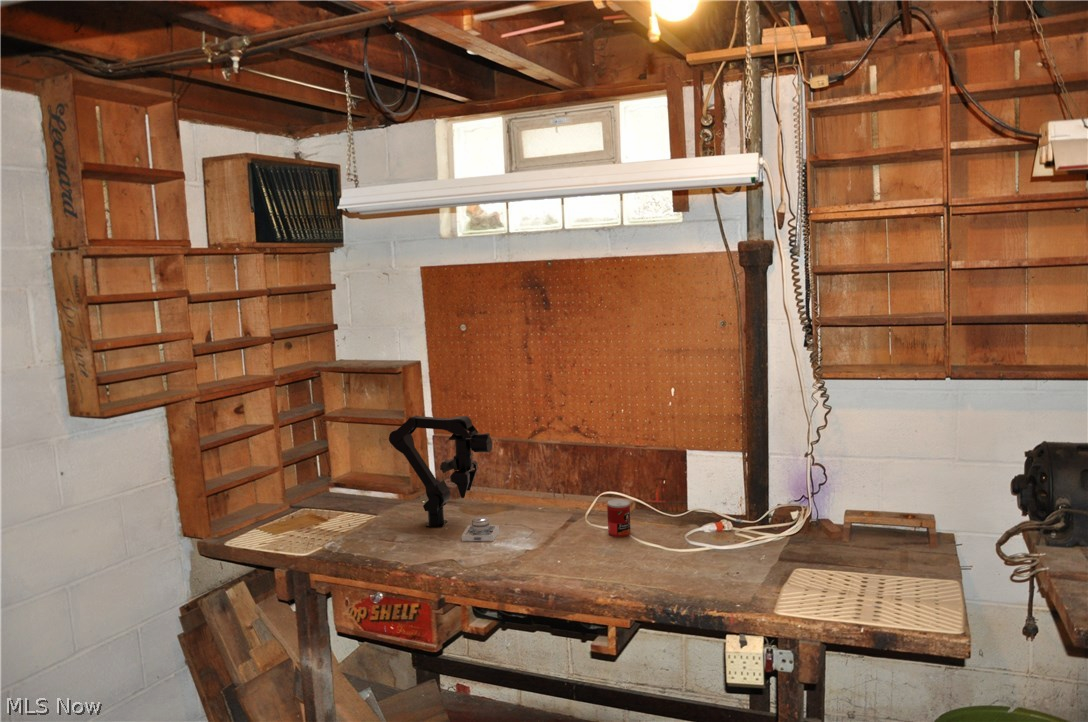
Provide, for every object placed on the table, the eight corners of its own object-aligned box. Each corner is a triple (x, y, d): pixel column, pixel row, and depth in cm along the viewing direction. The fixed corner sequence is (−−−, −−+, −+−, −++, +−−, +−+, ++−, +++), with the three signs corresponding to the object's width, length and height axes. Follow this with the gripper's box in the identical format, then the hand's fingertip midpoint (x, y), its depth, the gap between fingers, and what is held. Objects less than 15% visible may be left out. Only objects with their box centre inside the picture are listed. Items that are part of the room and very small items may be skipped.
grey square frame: (468, 530, 284) (468, 525, 283) (499, 530, 282) (498, 525, 282) (461, 541, 272) (461, 536, 272) (493, 542, 271) (492, 536, 271)
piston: (474, 532, 281) (473, 516, 281) (491, 532, 281) (490, 516, 280) (470, 538, 275) (469, 521, 275) (488, 538, 275) (487, 521, 274)
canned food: (620, 539, 269) (619, 507, 268) (603, 533, 275) (602, 502, 274) (635, 533, 274) (634, 502, 273) (618, 528, 280) (617, 497, 279)
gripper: (447, 446, 295) (449, 487, 297) (434, 458, 277) (437, 502, 279) (477, 445, 294) (479, 486, 296) (466, 458, 275) (468, 501, 277)
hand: (465, 494), depth 287 cm, fingers open, 9 cm apart
